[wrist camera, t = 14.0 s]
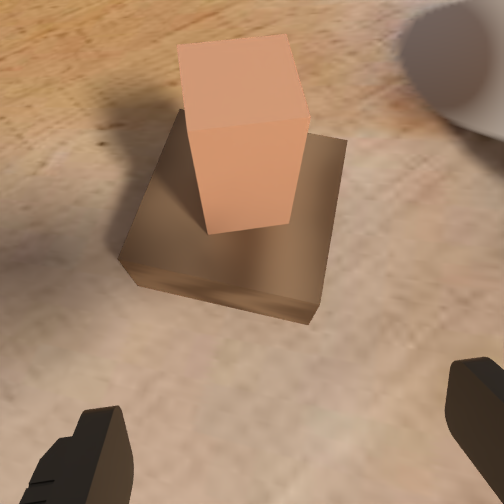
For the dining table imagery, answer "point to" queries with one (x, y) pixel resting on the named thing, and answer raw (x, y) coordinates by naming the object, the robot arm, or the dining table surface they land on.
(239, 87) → the peach tall block
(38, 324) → the dining table surface
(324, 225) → the walnut block
